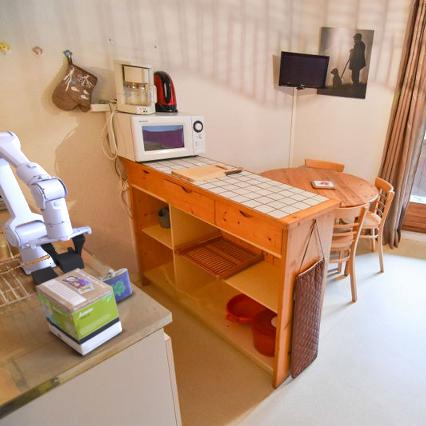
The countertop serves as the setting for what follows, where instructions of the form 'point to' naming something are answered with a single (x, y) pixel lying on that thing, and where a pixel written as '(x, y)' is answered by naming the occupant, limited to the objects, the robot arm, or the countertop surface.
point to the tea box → (80, 310)
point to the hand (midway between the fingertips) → (68, 261)
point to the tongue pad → (43, 275)
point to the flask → (118, 283)
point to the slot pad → (69, 260)
